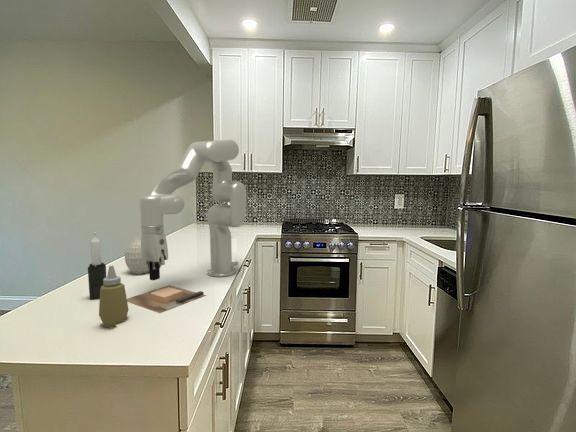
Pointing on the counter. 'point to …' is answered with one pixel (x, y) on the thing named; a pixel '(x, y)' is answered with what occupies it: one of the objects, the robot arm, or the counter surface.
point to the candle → (96, 270)
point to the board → (153, 305)
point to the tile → (166, 295)
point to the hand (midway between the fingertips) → (154, 279)
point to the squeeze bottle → (112, 300)
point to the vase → (135, 257)
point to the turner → (180, 301)
